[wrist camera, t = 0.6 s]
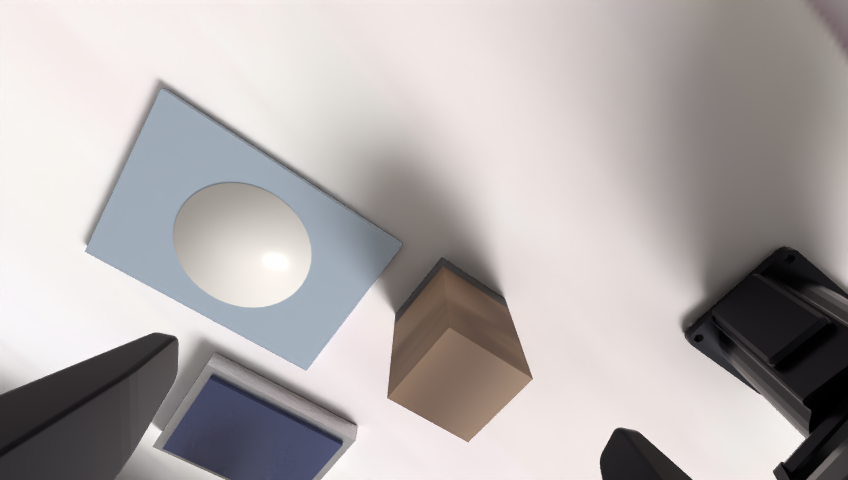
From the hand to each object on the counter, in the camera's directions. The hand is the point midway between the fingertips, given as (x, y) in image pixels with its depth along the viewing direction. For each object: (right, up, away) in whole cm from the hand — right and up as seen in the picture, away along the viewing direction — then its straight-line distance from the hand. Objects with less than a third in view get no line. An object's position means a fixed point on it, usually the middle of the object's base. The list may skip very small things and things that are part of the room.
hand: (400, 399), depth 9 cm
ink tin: (-9, -8, +17) cm, 20 cm away
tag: (-8, +3, +12) cm, 15 cm away
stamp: (+2, 0, +14) cm, 14 cm away
